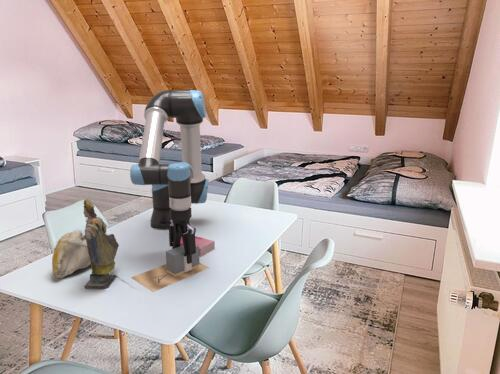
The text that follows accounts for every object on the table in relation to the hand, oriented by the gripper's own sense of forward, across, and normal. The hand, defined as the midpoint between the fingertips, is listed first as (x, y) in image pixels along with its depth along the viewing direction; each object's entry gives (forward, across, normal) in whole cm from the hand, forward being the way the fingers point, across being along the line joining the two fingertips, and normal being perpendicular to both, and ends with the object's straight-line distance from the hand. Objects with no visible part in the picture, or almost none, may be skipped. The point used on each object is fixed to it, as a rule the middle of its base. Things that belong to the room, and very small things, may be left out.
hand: (183, 268), depth 144 cm
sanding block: (0, 0, 0) cm, 0 cm away
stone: (+2, -31, -23) cm, 39 cm away
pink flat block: (+2, -14, +14) cm, 20 cm away
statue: (+2, -16, -24) cm, 29 cm away
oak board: (+1, -1, -5) cm, 5 cm away
